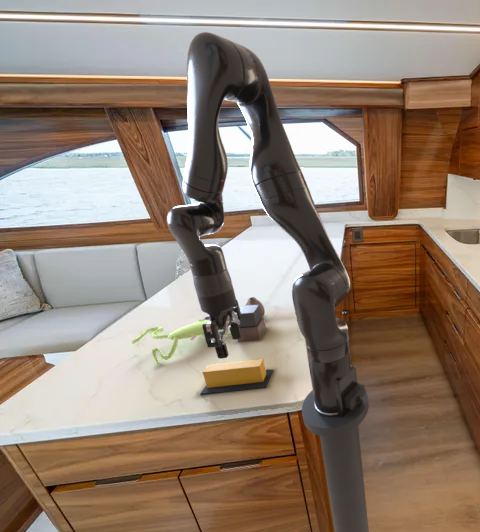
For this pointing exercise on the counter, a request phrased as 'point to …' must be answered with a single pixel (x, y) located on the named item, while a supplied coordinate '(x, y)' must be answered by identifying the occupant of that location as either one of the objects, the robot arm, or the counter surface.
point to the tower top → (250, 315)
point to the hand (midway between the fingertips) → (230, 347)
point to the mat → (238, 386)
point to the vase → (255, 302)
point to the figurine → (175, 336)
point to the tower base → (253, 332)
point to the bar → (234, 373)
